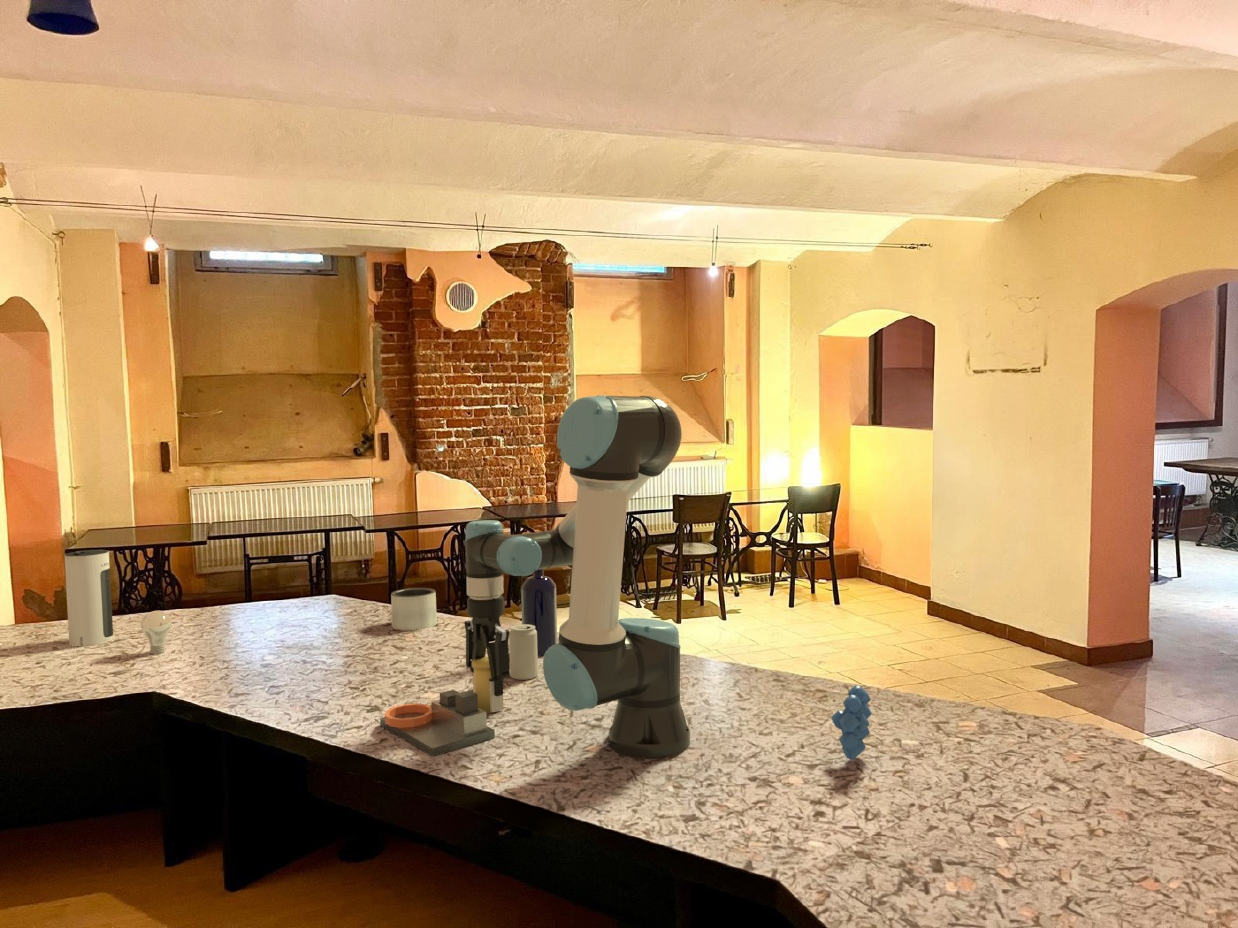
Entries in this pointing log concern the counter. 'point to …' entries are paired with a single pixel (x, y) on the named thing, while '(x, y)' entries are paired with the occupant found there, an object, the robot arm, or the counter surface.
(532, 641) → the beverage can
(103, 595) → the speaker
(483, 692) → the cap
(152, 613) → the light bulb
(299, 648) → the counter surface
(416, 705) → the orange ring
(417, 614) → the planter
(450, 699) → the block
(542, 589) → the bottle
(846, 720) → the grapes
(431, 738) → the breaker panel
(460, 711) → the block
